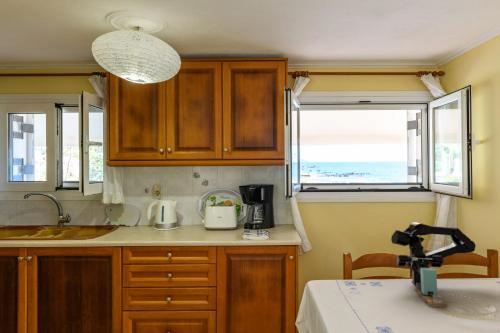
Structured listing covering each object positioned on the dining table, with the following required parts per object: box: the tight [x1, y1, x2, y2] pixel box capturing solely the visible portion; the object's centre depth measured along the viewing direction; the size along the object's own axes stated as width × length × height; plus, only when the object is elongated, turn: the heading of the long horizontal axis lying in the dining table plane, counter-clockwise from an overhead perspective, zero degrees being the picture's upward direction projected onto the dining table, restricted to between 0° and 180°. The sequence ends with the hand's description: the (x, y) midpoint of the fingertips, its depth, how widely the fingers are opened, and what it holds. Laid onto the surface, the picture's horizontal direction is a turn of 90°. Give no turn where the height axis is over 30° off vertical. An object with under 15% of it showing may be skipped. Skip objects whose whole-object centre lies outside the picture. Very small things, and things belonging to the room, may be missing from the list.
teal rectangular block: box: [420, 267, 438, 295], centre depth 139 cm, size 4×5×10 cm
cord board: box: [414, 283, 448, 309], centre depth 138 cm, size 20×6×4 cm, turn 168°
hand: (424, 277), depth 145 cm, fingers closed
